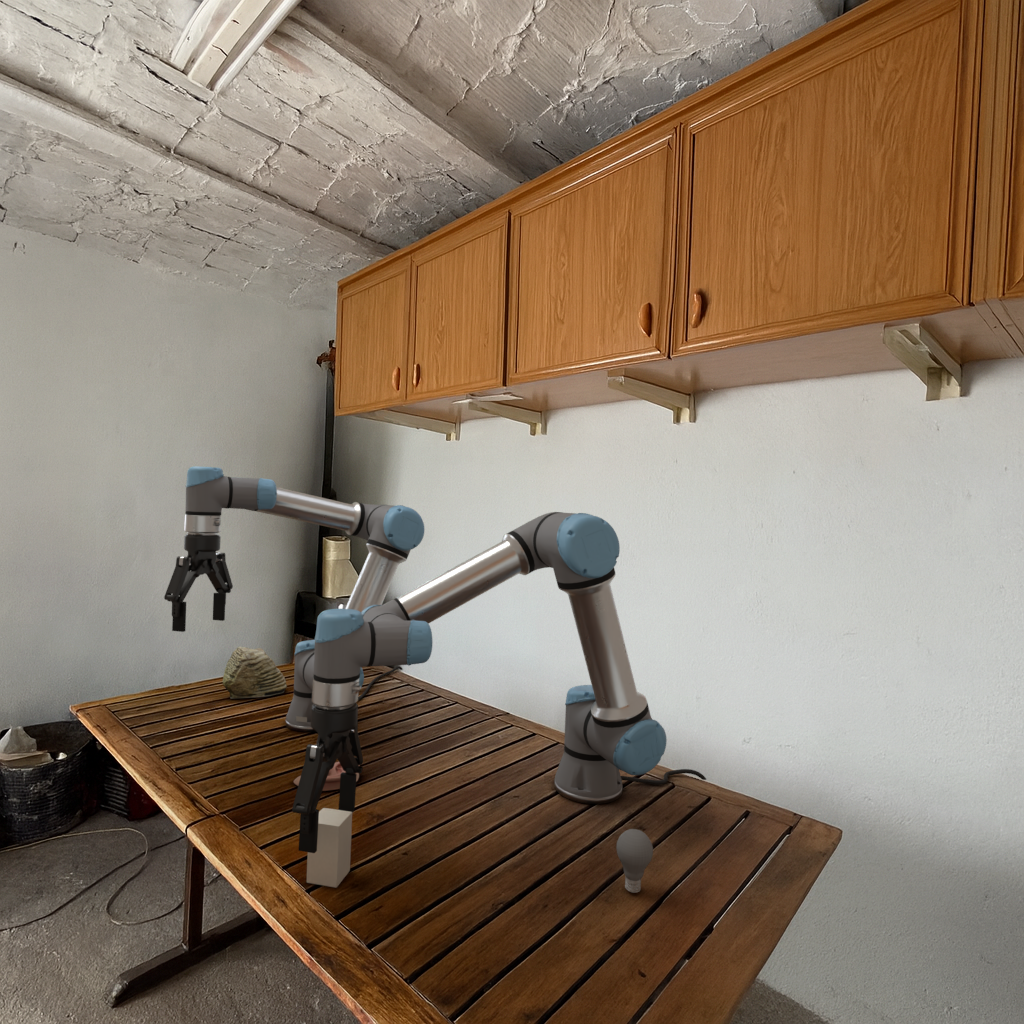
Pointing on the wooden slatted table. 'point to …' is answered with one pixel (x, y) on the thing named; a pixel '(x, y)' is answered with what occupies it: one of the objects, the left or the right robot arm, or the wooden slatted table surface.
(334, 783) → the anatomical model
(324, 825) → the block
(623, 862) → the light bulb
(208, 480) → the left robot arm
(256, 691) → the fossil
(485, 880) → the wooden slatted table surface
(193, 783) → the wooden slatted table surface
